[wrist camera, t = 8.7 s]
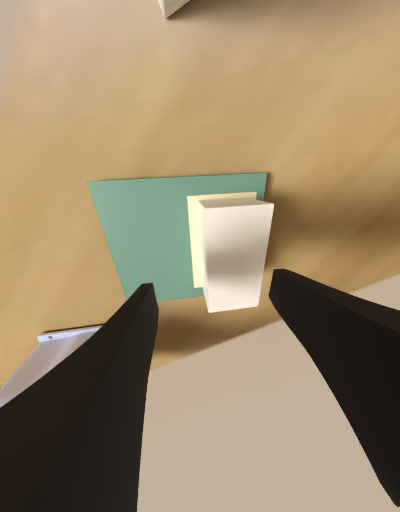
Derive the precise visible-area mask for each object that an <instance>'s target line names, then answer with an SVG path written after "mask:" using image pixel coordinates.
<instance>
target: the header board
mask: <svg viewBox="0 0 400 512" xmlns="http://www.w3.org/2000/svg"><path fill="white" fill-rule="evenodd" d="M266 177H267V173H254V174H234V175H213V176H193V177H172V178H152V179H131V180H111V181H91V182H87V185H88V188H89V191H90V194H91V197H92V199H93V202H94V205H95V208H96V211H97V214H98V217H99V220H100V223H101V226H102V229H103V232H104V235H105V238H106V241H107V244H108V247H109V250H110V253H111V256H112V259H113V262H114V265H115V268H116V271H117V274H118V277H119V280H120V283H121V286H122V289H123V292H124V295H125V298H126V300H128V299H129V297H130V296H131V295H132V294H133V293H134V292H135V291H136V290H137V288H138V287H139V286H140V285H141V284H144V283H153V285H154V290H155V295H156V300H157V302H162V301H170V300H178V299H186V298H194V297H202V296H205V295H204V291H203V287H202V282H201V263H200V243H199V223H198V204H197V201H199V200H215V199H230V198H246V197H247V198H252V199H256V200H260V201H263V200H264V192H265V184H266Z"/></svg>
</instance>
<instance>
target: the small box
mask: <svg viewBox="0 0 400 512" xmlns="http://www.w3.org/2000/svg"><path fill="white" fill-rule="evenodd" d="M189 1H190V0H158V2H159V5H160V7H161V10H162V12H163V14H164V16H165V18H168V17H169V16H170V15H171V14H173V13H174V12H175V11H177V10H178V9H179V8H181V7H182V6H183V5H185V4H186V3H187V2H189Z"/></svg>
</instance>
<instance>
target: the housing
mask: <svg viewBox="0 0 400 512" xmlns="http://www.w3.org/2000/svg"><path fill="white" fill-rule="evenodd" d="M197 204H198V223H199V243H200V263H201V282H202V287H203V291H204V295H205V300H206V304H207V308H208V312H209V313H211V312H219V311H226V310H233V309H240V308H248V307H255V306H258V302H259V296H260V290H261V284H262V277H263V271H264V265H265V259H266V253H267V246H268V240H269V234H270V228H271V222H272V215H273V209H274V204H273V203H269V202H265V201H260V200H256V199H252V198H247V197H246V198H230V199H215V200H199V201H197Z"/></svg>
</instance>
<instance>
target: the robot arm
mask: <svg viewBox="0 0 400 512" xmlns="http://www.w3.org/2000/svg"><path fill="white" fill-rule="evenodd" d="M269 298H270V300H271V302H272V304H273V305H274V307H275V309H276V310H277V312H278V313H279V315H280V316H281V317H282V319H283V320H284V321H285V323H286V324H287V325H288V327H289V328H290V329H291V331H292V332H293V333H294V334H295V336H296V337H297V339H298V340H299V341H300V342H301V344H302V345H303V346H304V348H305V349H306V351H307V352H308V353H309V355H310V357H311V358H312V360H313V361H314V363H315V365H316V366H317V368H318V369H319V371H320V372H321V374H322V376H323V377H324V379H325V381H326V382H327V384H328V386H329V388H330V389H331V391H332V393H333V394H334V396H335V398H336V399H337V401H338V403H339V405H340V407H341V408H342V410H343V412H344V414H345V416H346V417H347V419H348V421H349V423H350V425H351V427H352V428H353V430H354V432H355V434H356V436H357V438H358V440H359V442H360V444H361V446H362V448H363V450H364V451H365V453H366V455H367V457H368V459H369V461H370V463H371V465H372V467H373V469H374V471H375V473H376V475H377V478H378V480H379V482H380V484H381V485H382V486H383V488H384V489H385V491H386V492H387V494H388V495H389V497H390V498H391V500H392V501H393V503H394V504H395V505H396V506H397V507H400V310H396V309H393V308H389V307H386V306H383V305H380V304H377V303H374V302H371V301H367V300H364V299H361V298H358V297H355V296H353V295H350V294H348V293H345V292H342V291H339V290H337V289H334V288H332V287H329V286H327V285H324V284H322V283H319V282H317V281H314V280H312V279H310V278H307V277H305V276H302V275H300V274H297V273H295V272H292V271H289V270H286V269H274V271H273V276H272V281H271V286H270V291H269ZM158 311H159V310H158V305H157V300H156V295H155V290H154V285H153V283H144V284H141V285H140V286H139V287H138V288H137V290H136V291H135V292H134V293H133V294H132V295H131V296H130V297H129V299H128V300H127V301H126V302H125V303H124V304H123V305H122V306H121V307H120V308H119V310H118V311H117V312H116V313H115V314H114V315H113V316H112V317H111V318H110V319H109V320H108V321H107V322H106V323H105V324H104V325H101V326H94V327H86V328H79V329H72V330H64V331H57V332H50V333H42V334H40V335H39V336H38V337H37V339H38V340H39V342H40V343H39V344H38V345H37V347H36V348H35V349H34V350H33V351H32V352H31V354H30V355H29V356H28V357H27V358H26V359H25V361H24V362H23V363H22V364H21V365H20V366H19V368H18V369H17V370H16V371H15V372H14V373H13V375H12V376H11V377H10V378H9V379H8V381H7V382H6V383H5V384H4V385H3V386H2V388H1V389H0V512H137V500H138V484H139V469H140V459H141V446H142V433H143V423H144V412H145V402H146V392H147V383H148V376H149V370H150V365H151V359H152V354H153V349H154V343H155V338H156V332H157V326H158Z"/></svg>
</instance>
